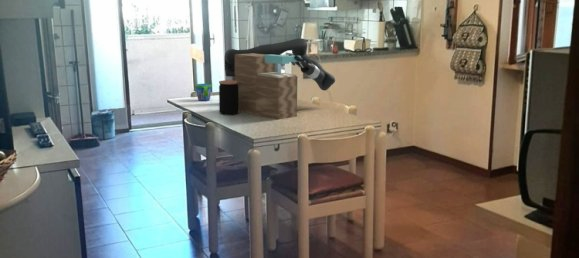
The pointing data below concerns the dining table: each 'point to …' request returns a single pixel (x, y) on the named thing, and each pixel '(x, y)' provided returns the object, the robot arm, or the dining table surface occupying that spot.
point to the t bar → (280, 59)
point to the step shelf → (264, 88)
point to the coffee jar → (228, 97)
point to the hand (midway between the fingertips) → (292, 56)
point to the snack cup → (203, 91)
